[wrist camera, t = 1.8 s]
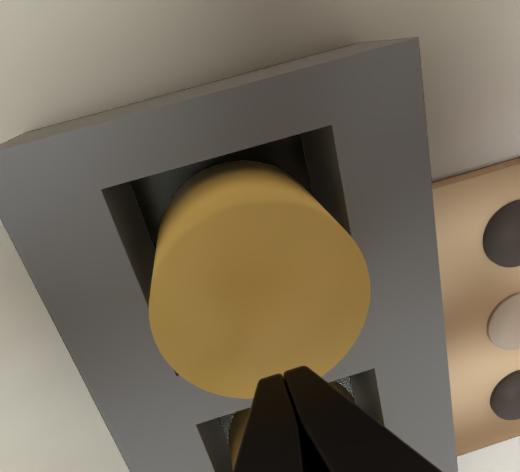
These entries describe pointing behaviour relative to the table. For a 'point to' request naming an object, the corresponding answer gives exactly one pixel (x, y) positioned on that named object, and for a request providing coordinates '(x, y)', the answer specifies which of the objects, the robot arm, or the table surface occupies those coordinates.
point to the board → (143, 251)
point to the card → (481, 300)
